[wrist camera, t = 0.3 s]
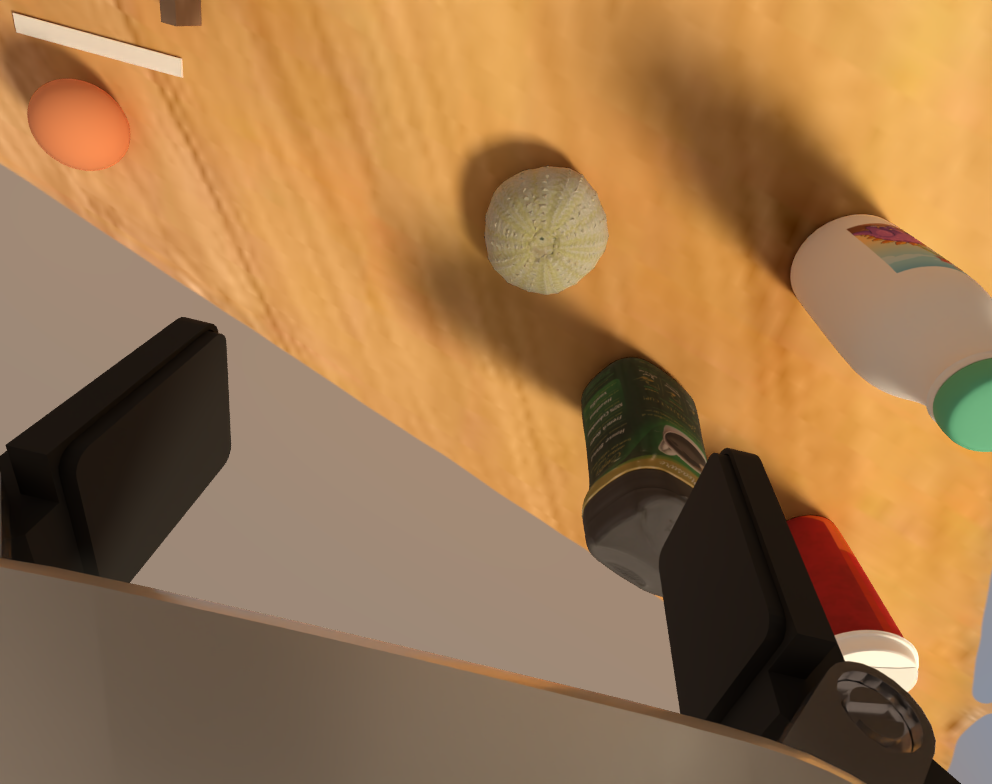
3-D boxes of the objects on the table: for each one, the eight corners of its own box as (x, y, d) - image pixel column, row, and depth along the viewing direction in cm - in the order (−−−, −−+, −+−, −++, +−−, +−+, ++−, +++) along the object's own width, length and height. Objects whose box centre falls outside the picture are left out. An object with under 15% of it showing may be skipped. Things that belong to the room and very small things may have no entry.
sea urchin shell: (461, 272, 46) (476, 228, 38) (497, 187, 48) (519, 129, 40) (567, 319, 47) (603, 285, 39) (599, 234, 49) (639, 186, 41)
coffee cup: (746, 555, 61) (790, 696, 48) (784, 497, 56) (843, 636, 44) (825, 574, 61) (889, 720, 48) (870, 518, 56) (953, 662, 44)
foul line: (14, 12, 42) (12, 12, 42) (182, 58, 42) (180, 58, 42) (18, 32, 42) (16, 32, 42) (183, 77, 43) (181, 77, 42)
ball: (63, 65, 43) (-6, 71, 38) (144, 87, 43) (86, 96, 38) (76, 150, 46) (14, 166, 41) (151, 170, 47) (99, 189, 42)
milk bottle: (823, 330, 47) (958, 504, 30) (766, 262, 45) (878, 410, 28) (922, 265, 43) (1137, 421, 27) (866, 188, 41) (1062, 306, 24)
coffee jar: (566, 398, 53) (559, 556, 38) (629, 339, 49) (651, 487, 34) (643, 456, 56) (668, 628, 40) (710, 404, 52) (765, 571, 36)
